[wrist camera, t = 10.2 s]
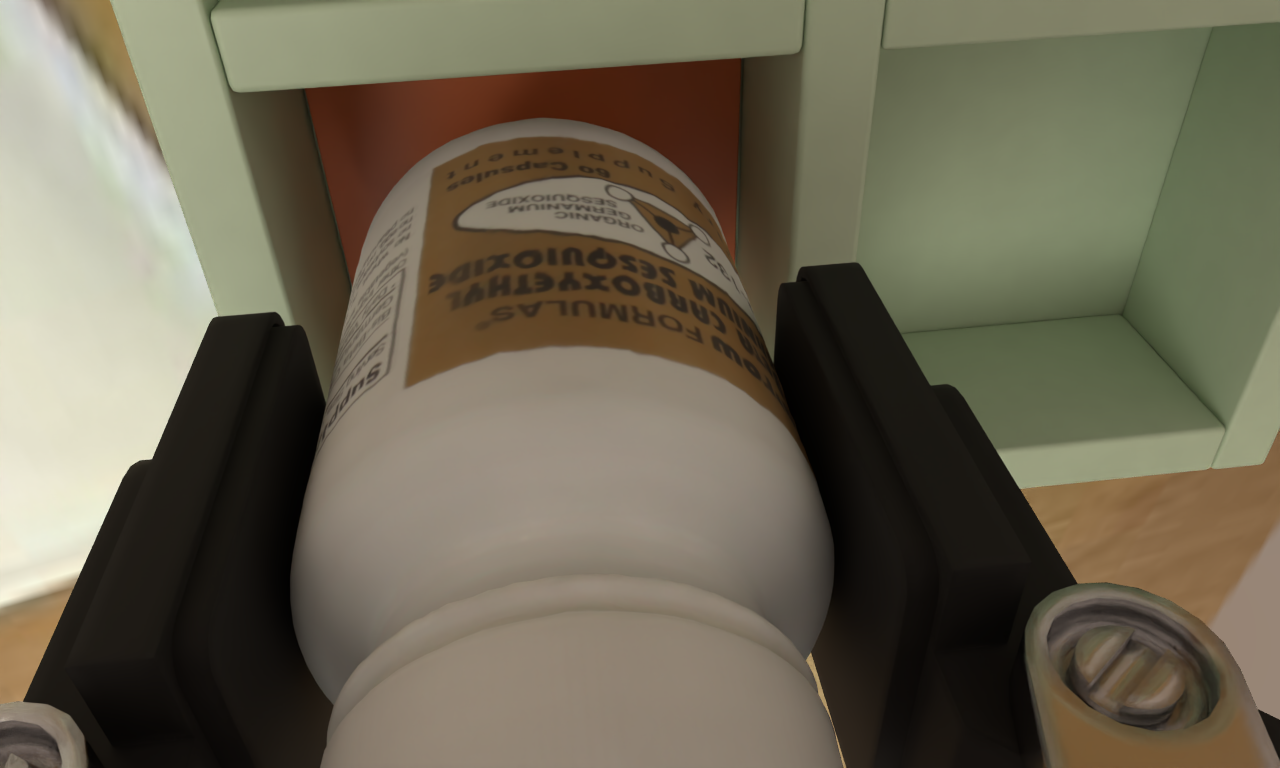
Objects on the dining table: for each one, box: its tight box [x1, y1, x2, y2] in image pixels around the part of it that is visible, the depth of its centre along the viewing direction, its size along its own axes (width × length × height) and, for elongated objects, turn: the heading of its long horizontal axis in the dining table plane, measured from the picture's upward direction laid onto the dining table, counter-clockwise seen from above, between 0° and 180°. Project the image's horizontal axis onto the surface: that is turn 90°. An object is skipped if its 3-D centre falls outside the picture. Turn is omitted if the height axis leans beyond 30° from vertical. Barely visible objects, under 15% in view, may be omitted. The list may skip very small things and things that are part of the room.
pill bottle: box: [290, 118, 843, 768], centre depth 9 cm, size 4×4×8 cm
